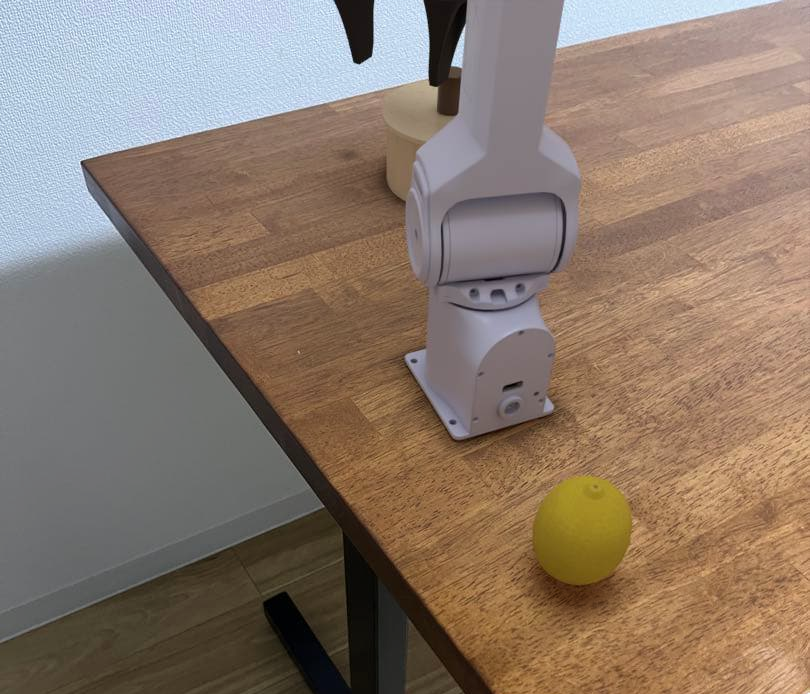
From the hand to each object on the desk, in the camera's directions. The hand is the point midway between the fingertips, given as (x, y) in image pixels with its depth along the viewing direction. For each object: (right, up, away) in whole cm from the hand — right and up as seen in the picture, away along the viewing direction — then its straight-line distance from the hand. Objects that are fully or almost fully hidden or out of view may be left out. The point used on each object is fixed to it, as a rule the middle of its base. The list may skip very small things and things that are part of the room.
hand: (400, 70), depth 69 cm
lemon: (+11, -42, -19) cm, 47 cm away
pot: (+4, -5, +9) cm, 11 cm away
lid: (+4, -2, +4) cm, 6 cm away
